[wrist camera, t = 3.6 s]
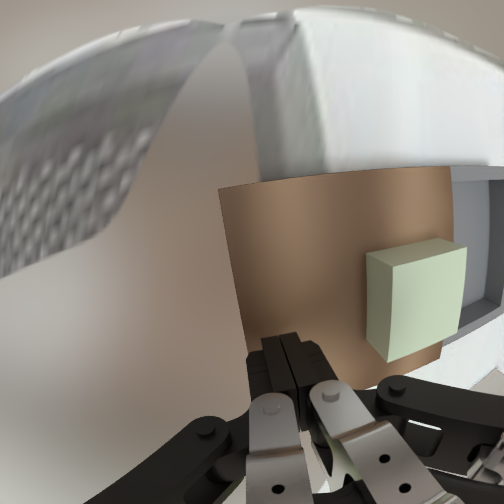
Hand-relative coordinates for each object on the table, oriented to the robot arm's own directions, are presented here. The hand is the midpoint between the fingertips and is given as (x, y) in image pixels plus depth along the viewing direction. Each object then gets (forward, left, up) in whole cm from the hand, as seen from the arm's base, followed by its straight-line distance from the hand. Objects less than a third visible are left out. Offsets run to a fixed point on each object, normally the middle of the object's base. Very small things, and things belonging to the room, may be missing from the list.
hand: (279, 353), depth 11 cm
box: (+17, 0, -6) cm, 18 cm away
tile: (+8, 0, -2) cm, 8 cm away
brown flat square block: (+5, 0, -6) cm, 8 cm away
